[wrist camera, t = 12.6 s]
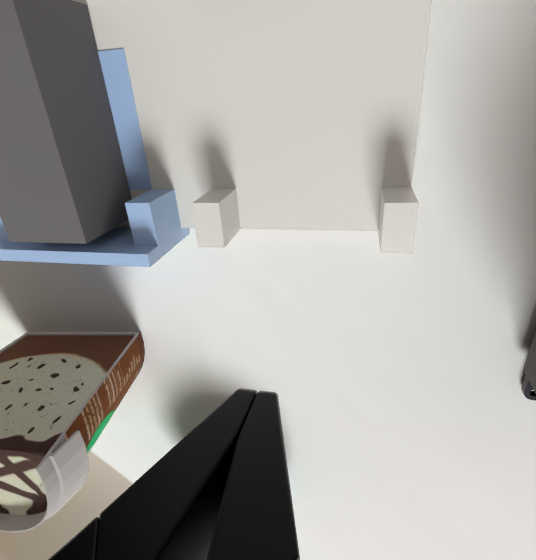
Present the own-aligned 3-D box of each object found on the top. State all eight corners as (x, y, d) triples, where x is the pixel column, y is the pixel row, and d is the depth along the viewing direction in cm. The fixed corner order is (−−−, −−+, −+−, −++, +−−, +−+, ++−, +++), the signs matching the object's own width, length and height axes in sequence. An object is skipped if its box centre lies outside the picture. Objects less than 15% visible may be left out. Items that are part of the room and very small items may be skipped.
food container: (46, 395, 30) (-84, 521, 21) (11, 331, 27) (-153, 446, 18) (184, 402, 27) (98, 556, 18) (160, 331, 24) (46, 470, 15)
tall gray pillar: (86, 4, 15) (6, -20, 12) (135, 215, 19) (86, 243, 16) (8, 15, 16) (-89, -4, 13) (70, 215, 20) (10, 241, 17)
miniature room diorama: (442, -129, 12) (479, -227, 8) (402, 237, 18) (413, 278, 14) (-43, -39, 16) (-161, -76, 13) (49, 230, 22) (-14, 260, 18)
